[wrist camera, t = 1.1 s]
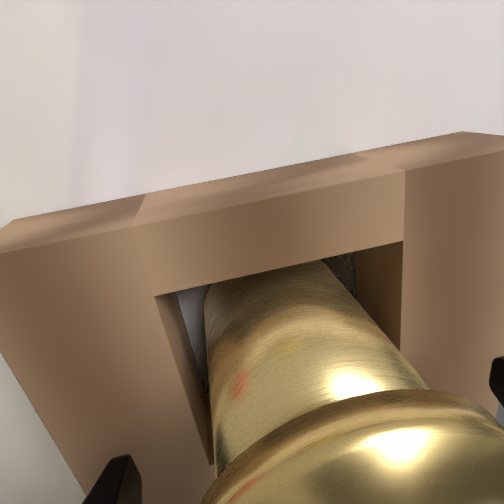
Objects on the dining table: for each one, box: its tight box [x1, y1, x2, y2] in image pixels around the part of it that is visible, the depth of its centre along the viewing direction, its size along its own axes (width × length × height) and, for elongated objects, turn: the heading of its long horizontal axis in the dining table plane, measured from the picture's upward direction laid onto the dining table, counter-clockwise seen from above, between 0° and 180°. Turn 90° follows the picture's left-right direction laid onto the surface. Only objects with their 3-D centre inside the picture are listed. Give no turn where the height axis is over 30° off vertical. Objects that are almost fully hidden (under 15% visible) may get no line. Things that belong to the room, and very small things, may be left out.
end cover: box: [200, 259, 504, 504], centre depth 9 cm, size 6×6×8 cm
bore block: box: [0, 131, 504, 504], centre depth 11 cm, size 14×10×3 cm
